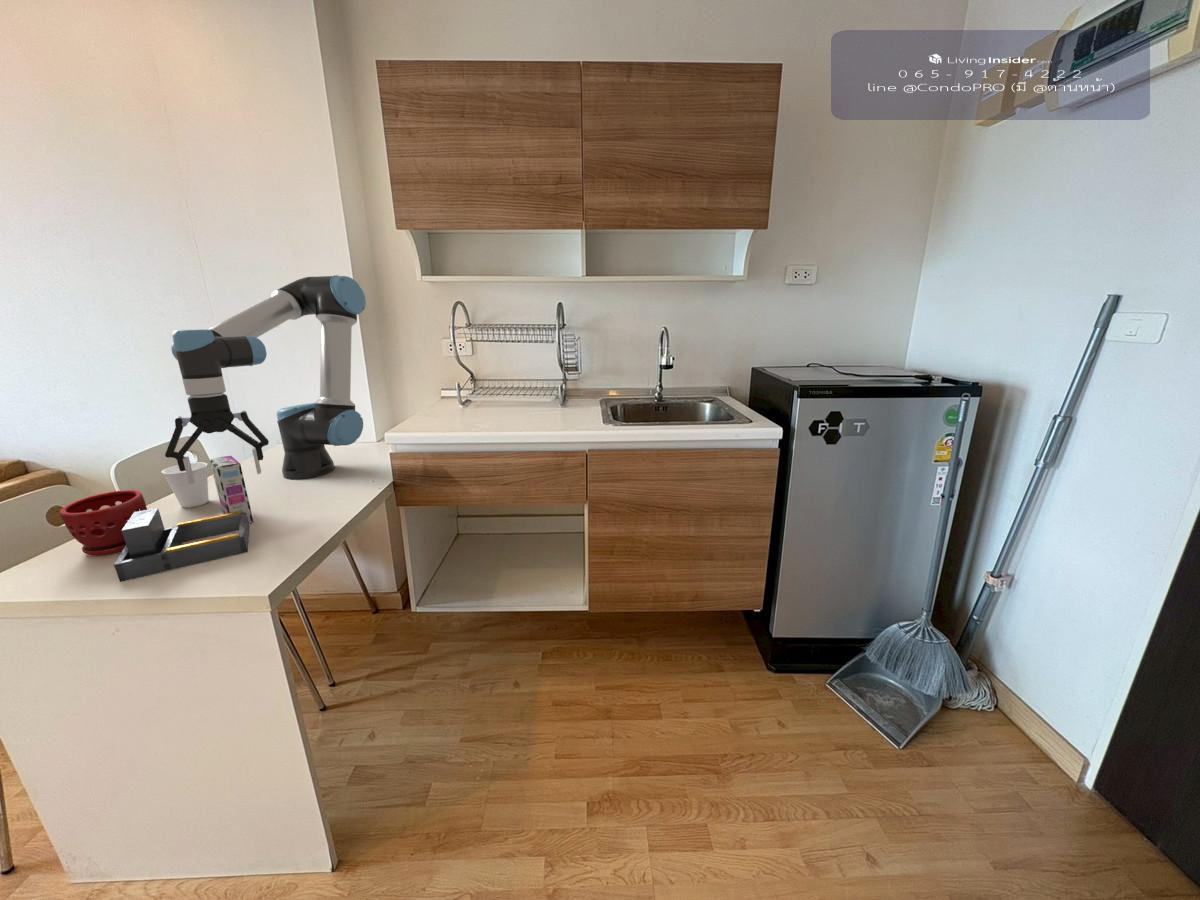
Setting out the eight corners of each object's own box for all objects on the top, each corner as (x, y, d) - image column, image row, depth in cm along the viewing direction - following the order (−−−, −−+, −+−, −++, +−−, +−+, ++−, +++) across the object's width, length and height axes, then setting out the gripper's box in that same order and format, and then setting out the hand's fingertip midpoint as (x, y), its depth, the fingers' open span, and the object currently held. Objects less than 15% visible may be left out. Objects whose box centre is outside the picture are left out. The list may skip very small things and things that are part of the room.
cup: (191, 512, 127) (180, 474, 124) (162, 509, 129) (151, 472, 126) (226, 498, 136) (216, 463, 133) (198, 496, 138) (189, 461, 135)
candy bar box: (255, 522, 120) (241, 462, 116) (231, 529, 117) (215, 467, 112) (245, 511, 128) (231, 454, 123) (223, 516, 124) (207, 458, 119)
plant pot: (91, 542, 111) (74, 496, 107) (163, 530, 117) (149, 485, 113) (65, 567, 100) (45, 517, 96) (146, 552, 106) (130, 504, 102)
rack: (249, 526, 118) (240, 490, 115) (247, 552, 105) (237, 511, 102) (137, 550, 107) (124, 510, 104) (119, 582, 94) (104, 537, 91)
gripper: (269, 388, 122) (284, 465, 128) (140, 397, 109) (164, 482, 115) (269, 392, 116) (285, 472, 122) (133, 402, 103) (158, 491, 109)
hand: (226, 477), depth 118 cm, fingers open, 13 cm apart
